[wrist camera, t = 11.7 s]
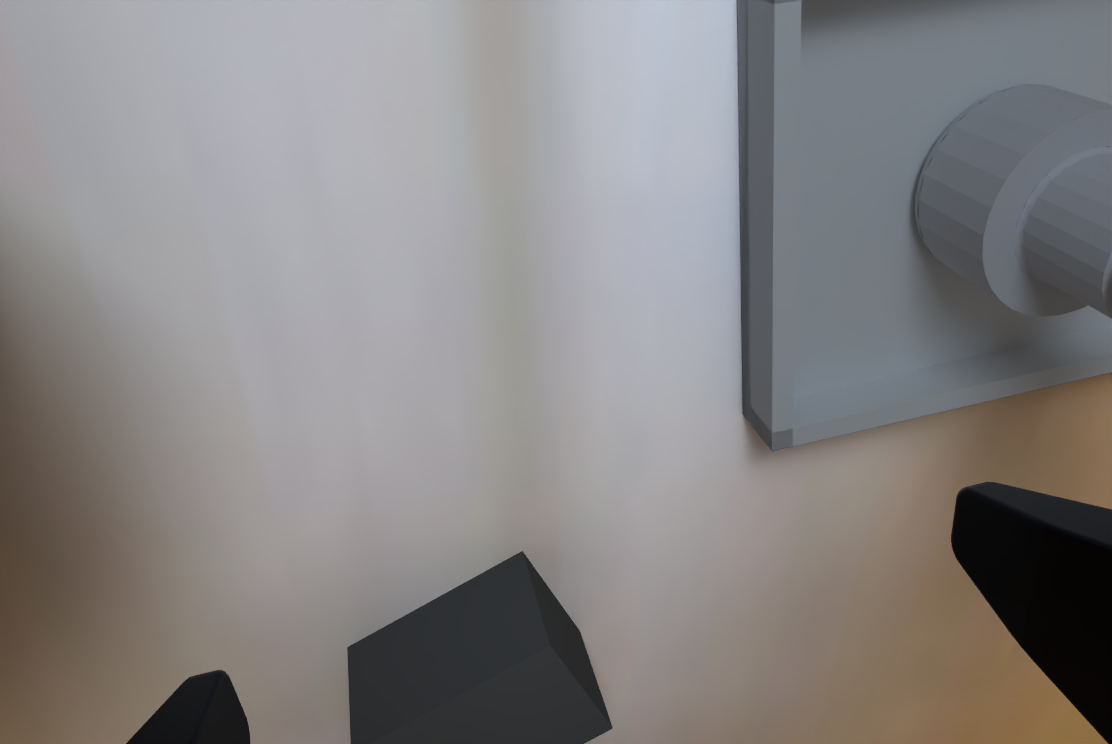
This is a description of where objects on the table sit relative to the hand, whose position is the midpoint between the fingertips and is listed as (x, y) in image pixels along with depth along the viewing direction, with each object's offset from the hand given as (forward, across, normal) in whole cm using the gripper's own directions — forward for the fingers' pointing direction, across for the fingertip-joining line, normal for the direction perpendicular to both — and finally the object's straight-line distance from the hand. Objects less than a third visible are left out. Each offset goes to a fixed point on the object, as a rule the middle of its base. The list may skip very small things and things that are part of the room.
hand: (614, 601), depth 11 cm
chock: (+13, -2, -13) cm, 19 cm away
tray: (+13, +14, -1) cm, 19 cm away
